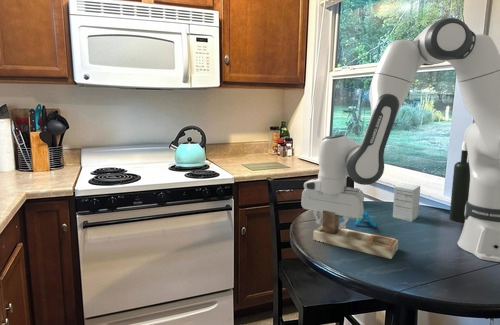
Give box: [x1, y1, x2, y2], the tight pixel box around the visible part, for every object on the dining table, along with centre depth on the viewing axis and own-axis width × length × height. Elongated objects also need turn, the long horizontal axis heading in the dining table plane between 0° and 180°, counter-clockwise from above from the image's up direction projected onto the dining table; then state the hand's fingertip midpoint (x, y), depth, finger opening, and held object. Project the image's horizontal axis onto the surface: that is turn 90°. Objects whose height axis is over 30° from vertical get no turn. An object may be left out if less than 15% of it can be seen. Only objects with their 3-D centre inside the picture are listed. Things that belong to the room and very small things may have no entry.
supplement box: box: [392, 182, 421, 223], centre depth 133 cm, size 7×7×13 cm
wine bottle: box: [449, 140, 470, 223], centre depth 128 cm, size 6×6×30 cm
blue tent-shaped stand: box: [354, 210, 377, 228], centre depth 126 cm, size 11×6×10 cm
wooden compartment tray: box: [312, 225, 399, 260], centre depth 109 cm, size 24×8×3 cm, turn 55°
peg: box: [321, 211, 340, 235], centre depth 113 cm, size 4×4×10 cm
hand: (330, 225), depth 113 cm, fingers open, 7 cm apart
